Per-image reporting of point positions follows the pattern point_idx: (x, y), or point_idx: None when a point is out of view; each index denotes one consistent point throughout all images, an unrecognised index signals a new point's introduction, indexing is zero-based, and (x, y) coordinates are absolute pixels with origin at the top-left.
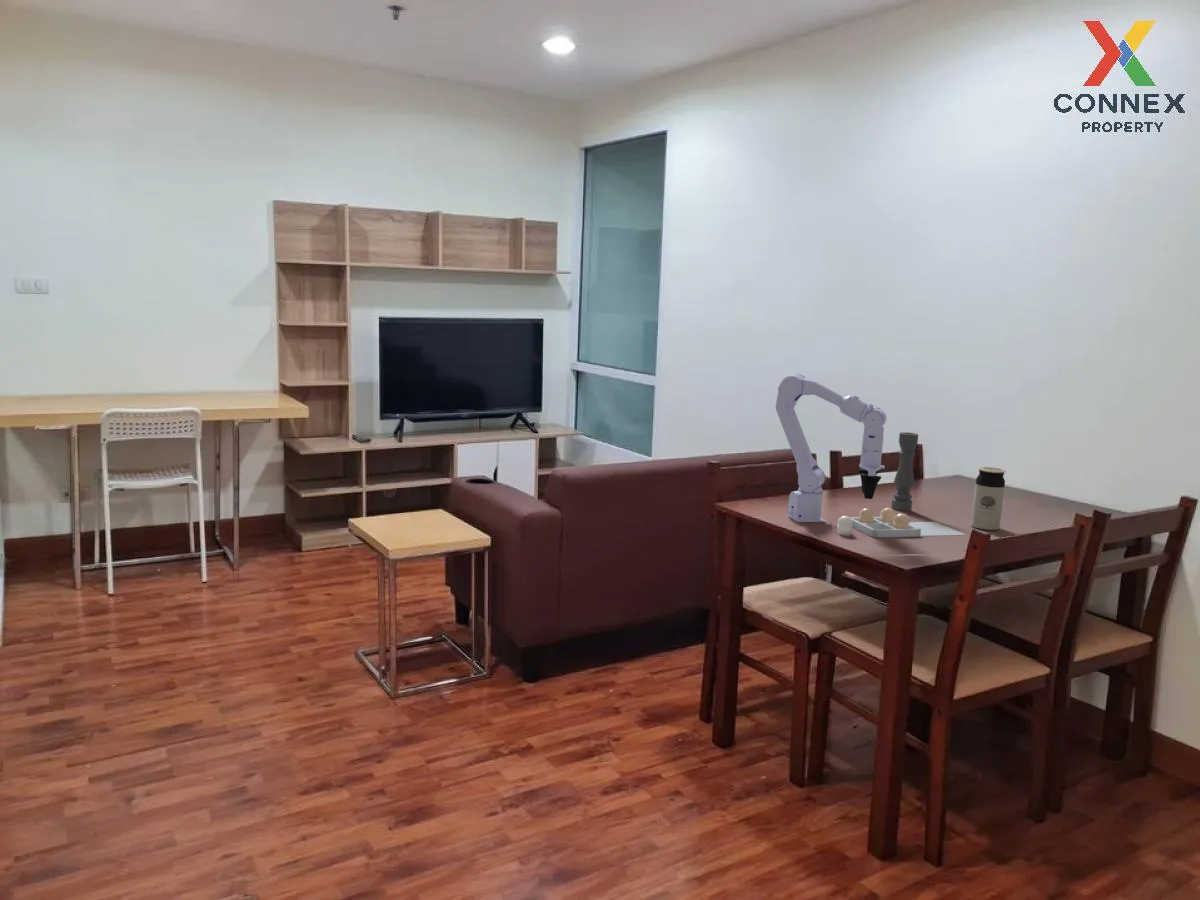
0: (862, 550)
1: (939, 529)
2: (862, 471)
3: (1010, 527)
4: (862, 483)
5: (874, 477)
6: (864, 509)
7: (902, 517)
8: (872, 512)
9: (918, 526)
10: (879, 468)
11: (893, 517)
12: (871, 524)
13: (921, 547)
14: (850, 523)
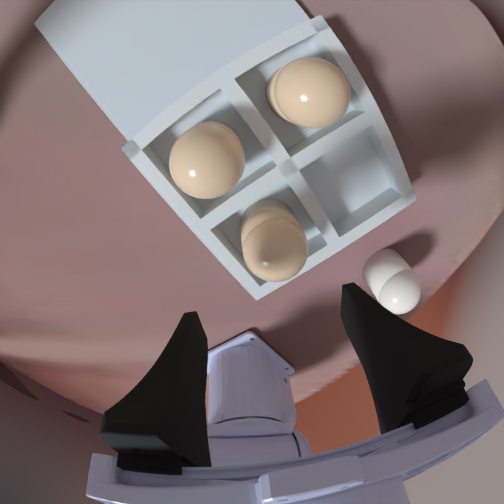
0: (486, 212)
1: None
2: (204, 460)
3: None
4: (203, 388)
5: (459, 379)
6: (293, 273)
7: (348, 90)
8: (290, 234)
9: (135, 37)
10: (403, 457)
11: (229, 130)
12: (323, 211)
13: (431, 50)
14: (418, 277)
